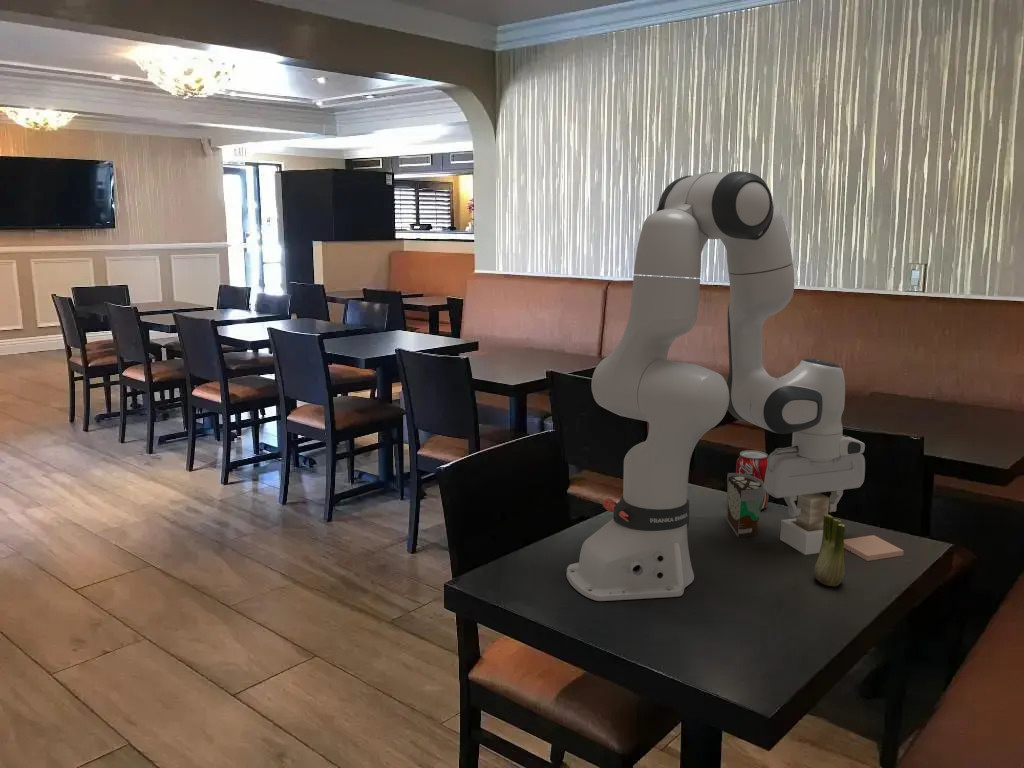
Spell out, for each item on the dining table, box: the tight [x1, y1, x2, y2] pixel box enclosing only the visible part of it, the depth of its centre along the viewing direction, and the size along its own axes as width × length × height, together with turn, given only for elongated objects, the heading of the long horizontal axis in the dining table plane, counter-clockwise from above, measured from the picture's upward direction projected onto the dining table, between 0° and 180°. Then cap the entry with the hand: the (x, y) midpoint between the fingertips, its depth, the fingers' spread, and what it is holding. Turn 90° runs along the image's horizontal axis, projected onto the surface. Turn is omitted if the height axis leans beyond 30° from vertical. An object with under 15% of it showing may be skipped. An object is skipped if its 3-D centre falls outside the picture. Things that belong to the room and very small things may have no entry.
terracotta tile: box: [844, 534, 904, 562], centre depth 162 cm, size 8×8×1 cm
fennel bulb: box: [813, 514, 846, 587], centre depth 147 cm, size 6×5×12 cm
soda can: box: [735, 449, 769, 511], centre depth 185 cm, size 7×7×12 cm
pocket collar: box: [779, 517, 823, 556], centre depth 164 cm, size 8×8×4 cm
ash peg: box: [795, 492, 830, 532], centre depth 164 cm, size 4×4×10 cm
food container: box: [726, 472, 766, 538], centre depth 173 cm, size 12×6×10 cm, turn 179°
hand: (812, 513), depth 164 cm, fingers open, 7 cm apart
